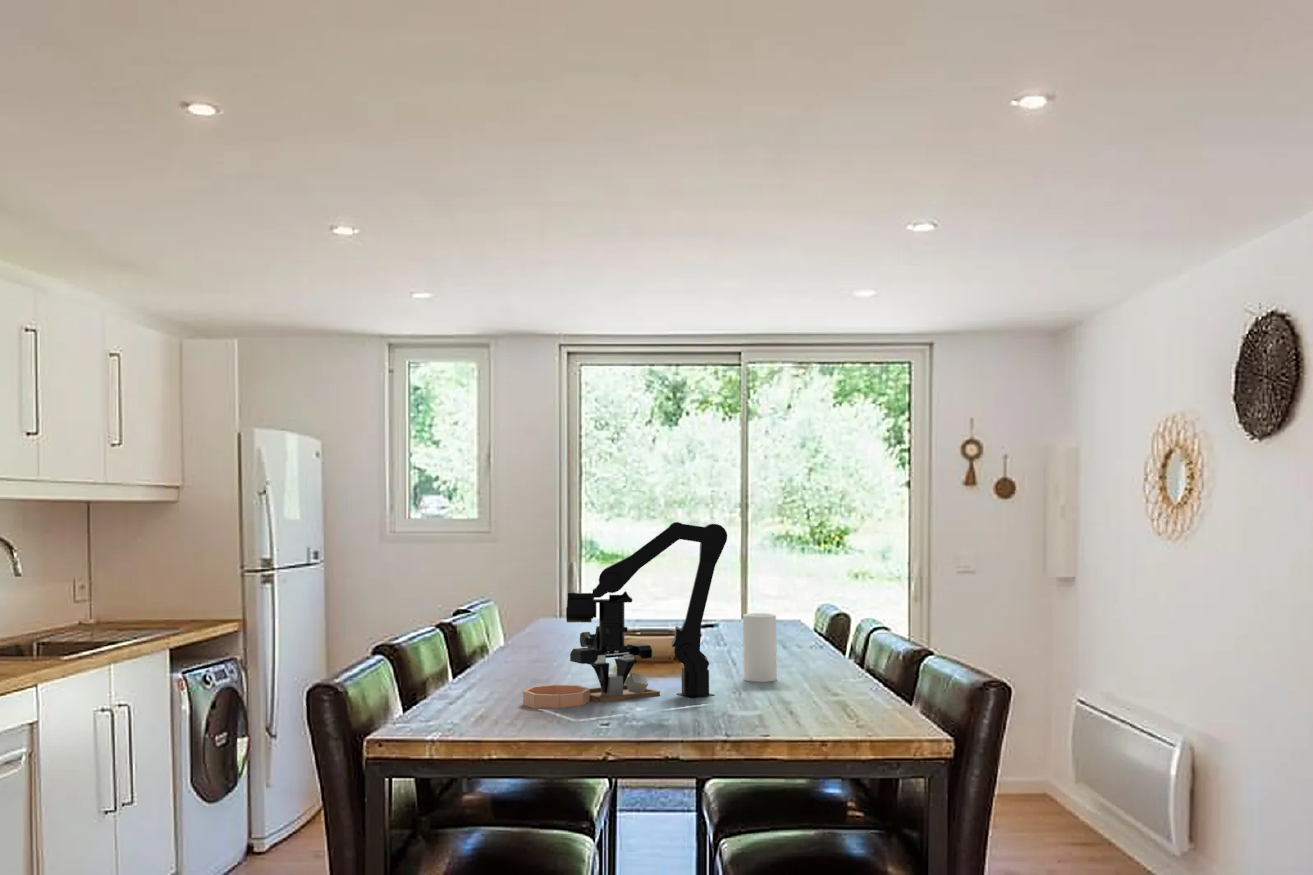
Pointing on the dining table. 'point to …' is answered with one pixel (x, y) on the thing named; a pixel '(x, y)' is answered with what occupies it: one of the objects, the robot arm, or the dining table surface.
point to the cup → (759, 647)
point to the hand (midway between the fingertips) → (611, 692)
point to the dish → (555, 696)
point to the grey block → (614, 685)
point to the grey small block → (636, 683)
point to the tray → (596, 695)
